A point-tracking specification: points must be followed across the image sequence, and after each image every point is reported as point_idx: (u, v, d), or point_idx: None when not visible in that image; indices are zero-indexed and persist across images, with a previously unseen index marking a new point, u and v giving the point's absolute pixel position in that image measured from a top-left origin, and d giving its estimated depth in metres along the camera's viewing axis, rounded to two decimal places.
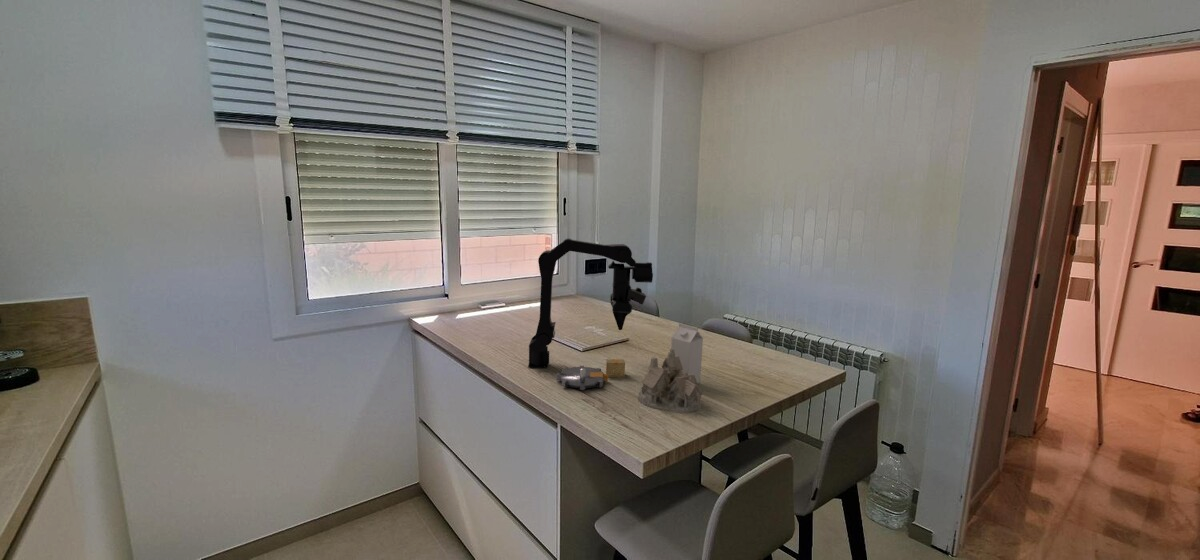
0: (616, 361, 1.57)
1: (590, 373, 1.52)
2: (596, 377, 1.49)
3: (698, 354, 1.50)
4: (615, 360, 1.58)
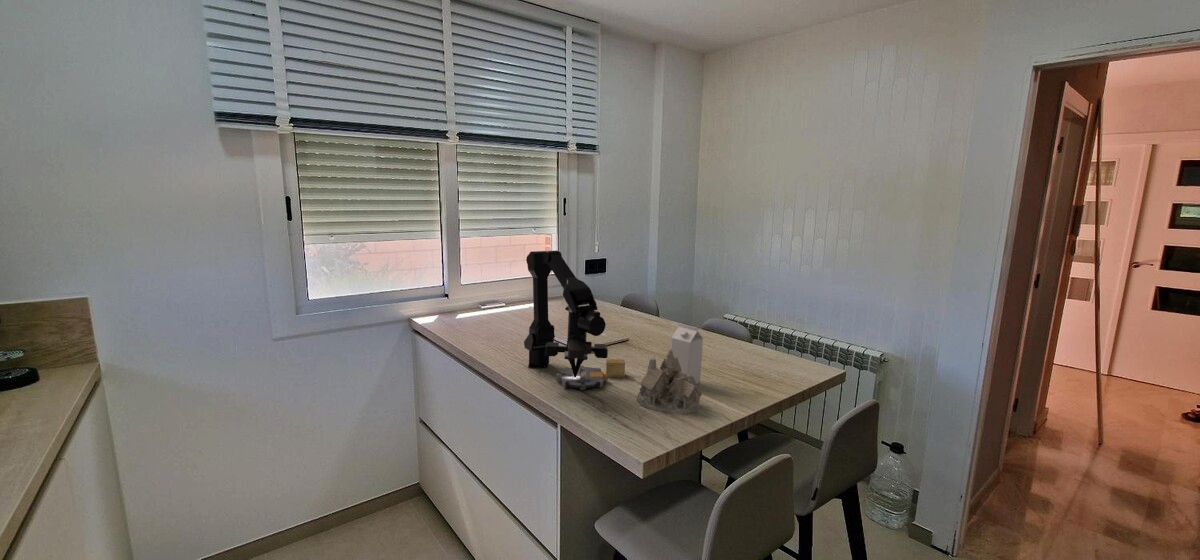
0: (616, 361, 1.57)
1: (590, 373, 1.52)
2: (596, 377, 1.49)
3: (698, 354, 1.50)
4: (615, 360, 1.58)
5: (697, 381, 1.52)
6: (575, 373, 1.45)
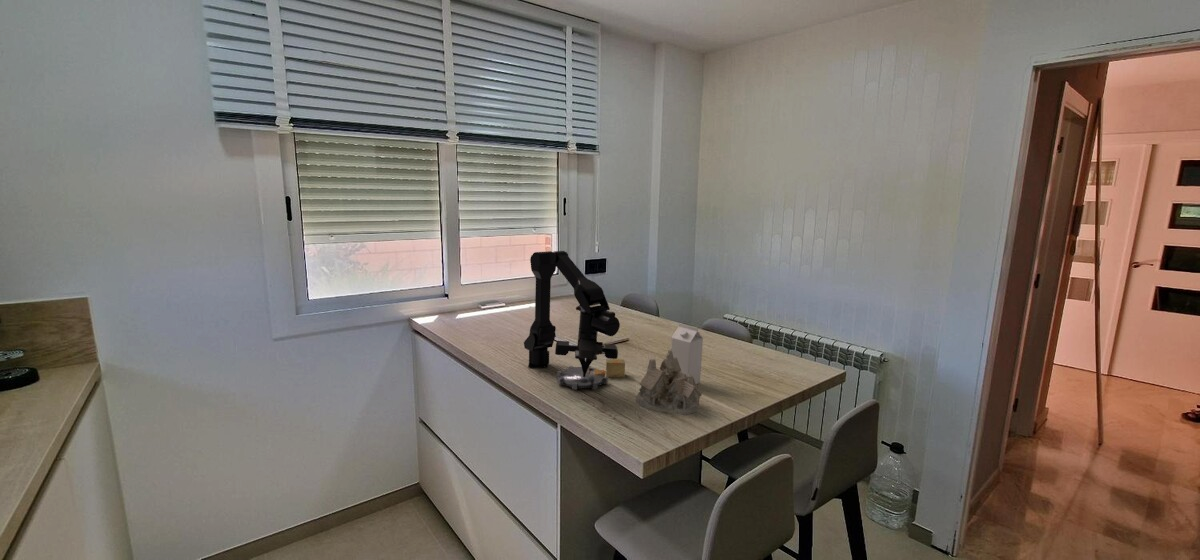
0: (616, 361, 1.57)
1: (588, 372, 1.53)
2: (598, 374, 1.51)
3: (698, 354, 1.50)
4: (615, 360, 1.58)
5: (697, 381, 1.52)
6: (584, 372, 1.45)
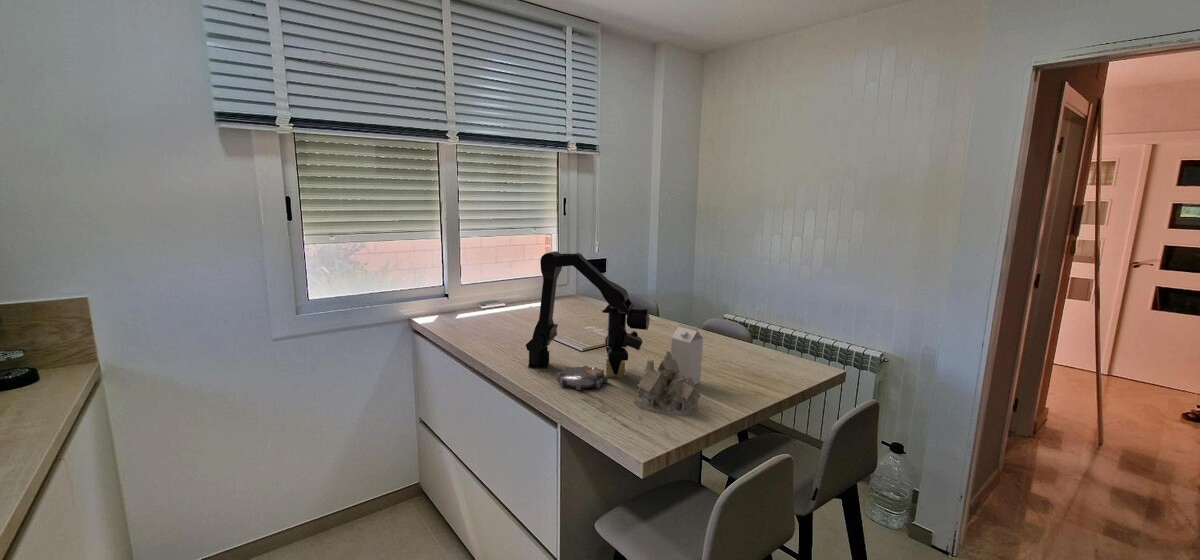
0: None
1: (587, 371, 1.53)
2: (597, 373, 1.52)
3: (698, 354, 1.50)
4: None
5: (697, 381, 1.52)
6: None
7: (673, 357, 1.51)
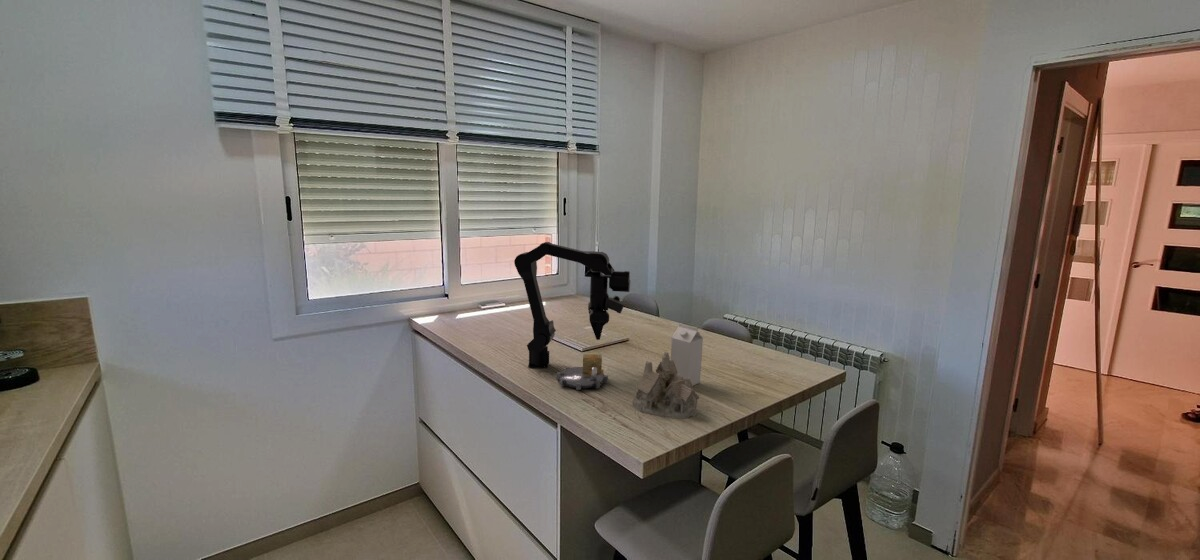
0: (593, 356, 1.53)
1: None
2: (597, 373, 1.52)
3: (698, 354, 1.50)
4: (592, 355, 1.55)
5: (697, 381, 1.52)
6: None
7: (673, 357, 1.51)
